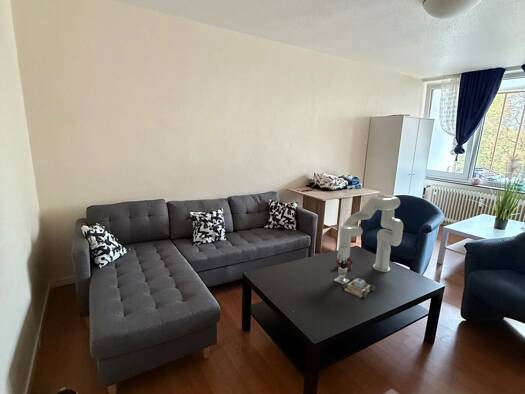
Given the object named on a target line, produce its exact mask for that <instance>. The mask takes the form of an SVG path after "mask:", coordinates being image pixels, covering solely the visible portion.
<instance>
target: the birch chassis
mask: <svg viewBox="0 0 525 394" xmlns="http://www.w3.org/2000/svg"><path fill="white" fill-rule="evenodd" d="M356 279H357V278H356V277H354V276H352V277H351V278H350V282H347V283H345V282H344V283H343V284H342V288H343V289H344V291H345V292H347V293H350V294H352V295H354V296H355V297H359V298H361V299H362V298H365V299H366V298H367V297H368V295H369V292H370V291H371V292H375V291H376V285H374V284H369V283H366V282H365V285H364V289H363V290H361V289H359V288H356V287H354V281H355V280H356Z"/></svg>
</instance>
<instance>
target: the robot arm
mask: <svg viewBox="0 0 525 394" xmlns="http://www.w3.org/2000/svg"><path fill="white" fill-rule="evenodd" d="M400 205H401V200H400V198H399V197H397V196H393V195H388V194H385V193H380V194H378V195H377V196H371V197H370V198H369V199H368V200H367V202H366V203H365V204H364V206H363V207H362V208H361V209H360V210H359V211H358V212H355V213H353V214H352V215H350V216H349V217H348V218H347V219H346V220H345V222H344V223H343V225H342V226H341V227H340V229H339V243H338V244H339V245H338V248H337V255H336V259H339V262H340V263H341V268H343V269H345V268H346V262H347V259H348V258H349V257H350V255H351V245H352V244H351V243H352V238H353V237H360V236H361V235H363V232H364V231H363V228H362V227H361V226H359V225H358V224H357V225H356V222H359V221H364V220H369V219H371V218H373V215H374V214H375V213H376V212H377V210H379V211H381V218H380V219H381V220H380V226H381V227H382V228H383V229H379V231H377V235H376V240H377V246H376V247H377V248H376V255H375V257H376V258H375V263H373V265H372V267H373V269H374V270H376V271H378V272H382V273H383V272H384V273H386V272H387V273H388V272H390V271H391V267H390V266H389V264H390V258H391V257H390V256H391V249H392V248H391V247H392V246H393V247H398V246H400V244H401V242H402V239H403V233H404V232H403V231H404V223H403V221H402V220H401V219H399V218H395V212H396V211H395V209H397V208H399V206H400ZM350 258H351V257H350Z"/></svg>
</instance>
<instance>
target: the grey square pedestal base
mask: <svg viewBox="0 0 525 394" xmlns="http://www.w3.org/2000/svg"><path fill="white" fill-rule="evenodd" d="M338 274H339V273H338ZM333 281H334V282H336V283H338V284H340V285H343V283H344V282H345V283H350V282H351V279H348V278H346V275H342V274H339V275H338V277H336V278H334V279H333Z"/></svg>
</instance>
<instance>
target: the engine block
mask: <svg viewBox="0 0 525 394" xmlns="http://www.w3.org/2000/svg"><path fill="white" fill-rule="evenodd" d="M365 283H366V280H365V279H361V278H358V277H357V278H356V280H355V281H354V287H356V288H359V289H361V290H363V289H364V285H365Z"/></svg>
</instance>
